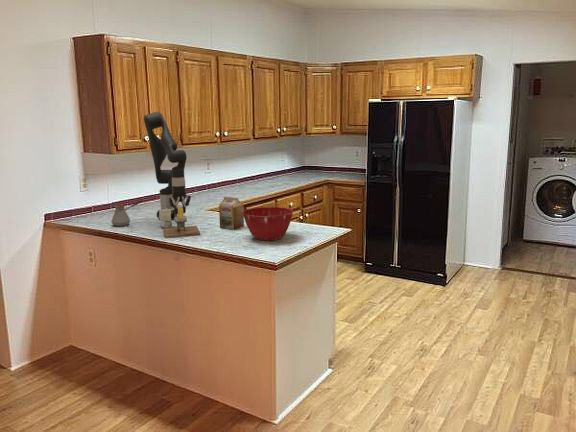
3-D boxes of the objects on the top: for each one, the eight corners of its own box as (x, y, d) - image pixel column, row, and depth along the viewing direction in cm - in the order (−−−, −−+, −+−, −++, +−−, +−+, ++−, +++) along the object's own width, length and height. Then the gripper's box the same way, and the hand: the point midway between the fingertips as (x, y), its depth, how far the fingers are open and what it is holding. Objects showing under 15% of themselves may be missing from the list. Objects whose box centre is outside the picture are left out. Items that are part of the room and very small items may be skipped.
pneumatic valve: (160, 225, 319) (159, 207, 316) (178, 226, 316) (176, 207, 314) (156, 227, 313) (155, 208, 311) (174, 228, 311) (173, 209, 309)
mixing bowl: (243, 232, 298) (242, 206, 295) (291, 231, 300) (291, 205, 297) (242, 245, 271) (241, 216, 267) (295, 243, 272) (295, 215, 269)
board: (163, 230, 306) (162, 220, 304) (196, 228, 311) (196, 217, 310) (165, 238, 287) (164, 227, 286) (200, 235, 292) (199, 224, 291)
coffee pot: (113, 228, 314) (111, 204, 311) (110, 224, 323) (108, 201, 320) (148, 224, 324) (146, 201, 321) (143, 220, 334) (142, 198, 331)
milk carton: (244, 226, 313) (243, 196, 309) (233, 230, 304) (232, 199, 300) (230, 225, 318) (229, 195, 314) (219, 228, 309) (218, 197, 306)
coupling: (175, 224, 291) (174, 208, 290) (174, 220, 302) (173, 205, 300) (187, 223, 293) (186, 208, 291) (186, 219, 304) (185, 204, 302)
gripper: (169, 186, 286) (171, 216, 290) (192, 184, 294) (194, 213, 298) (164, 185, 293) (166, 214, 296) (187, 182, 300) (189, 211, 304)
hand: (180, 213), depth 297 cm, fingers closed on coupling, 3 cm apart
